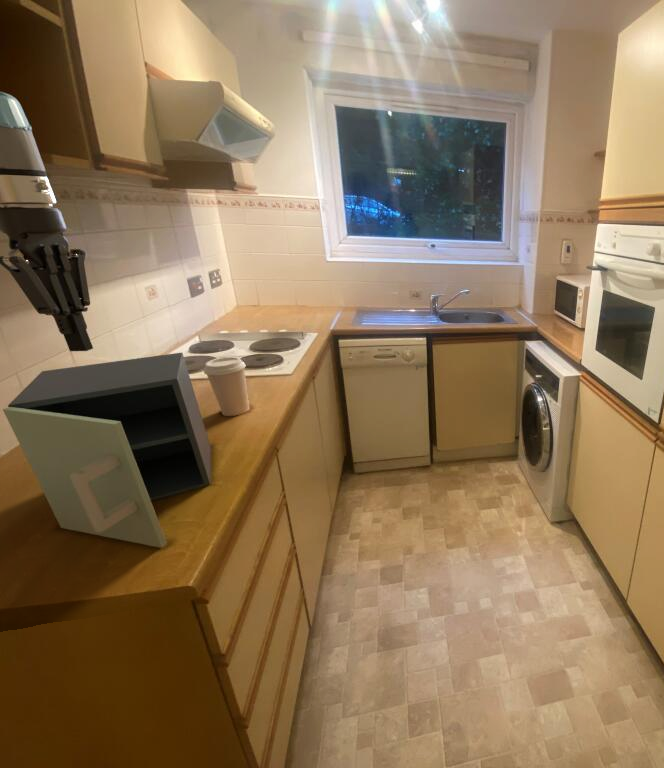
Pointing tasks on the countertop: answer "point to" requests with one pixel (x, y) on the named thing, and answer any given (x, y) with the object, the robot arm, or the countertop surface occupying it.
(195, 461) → the cupboard
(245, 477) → the countertop surface
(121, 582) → the countertop surface
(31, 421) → the door
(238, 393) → the coffee cup
